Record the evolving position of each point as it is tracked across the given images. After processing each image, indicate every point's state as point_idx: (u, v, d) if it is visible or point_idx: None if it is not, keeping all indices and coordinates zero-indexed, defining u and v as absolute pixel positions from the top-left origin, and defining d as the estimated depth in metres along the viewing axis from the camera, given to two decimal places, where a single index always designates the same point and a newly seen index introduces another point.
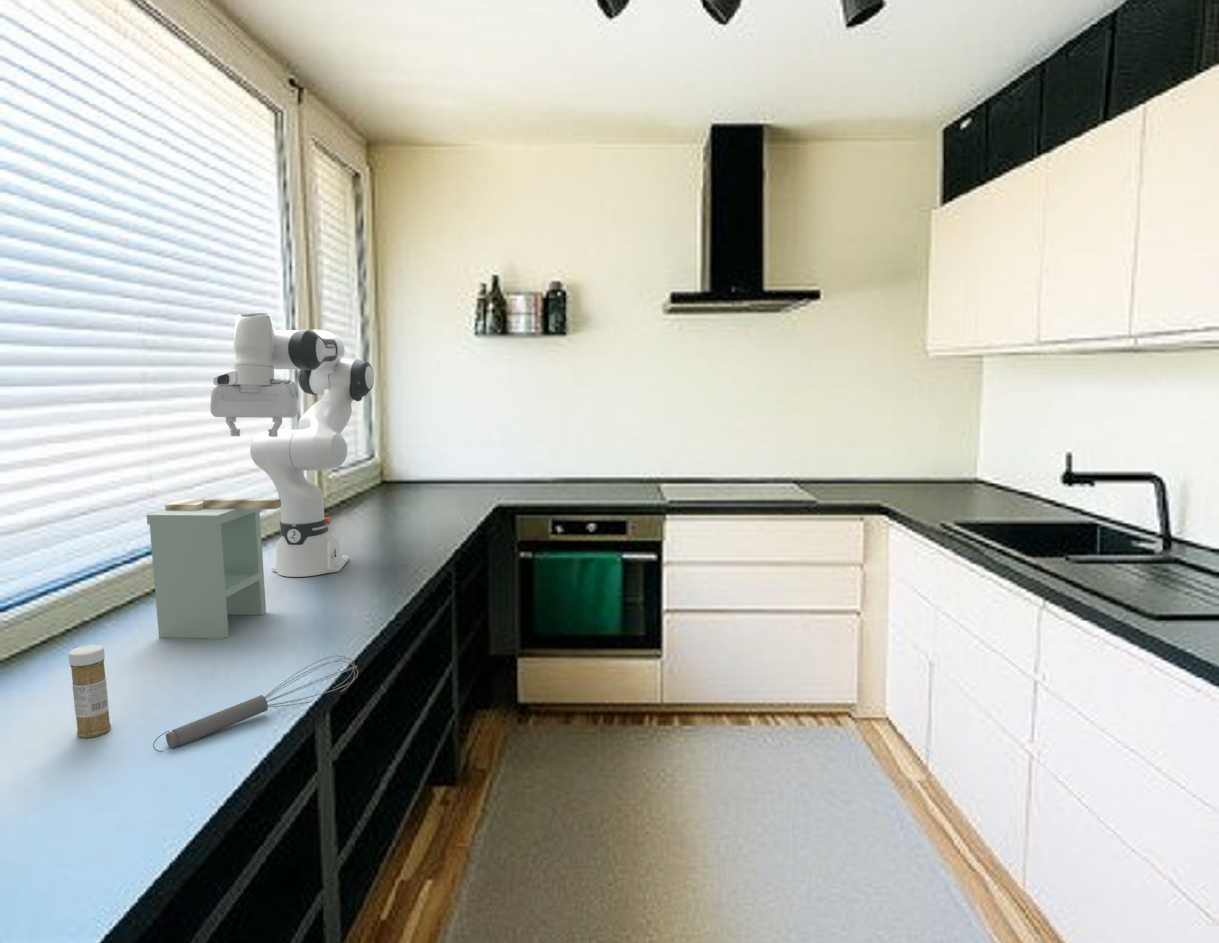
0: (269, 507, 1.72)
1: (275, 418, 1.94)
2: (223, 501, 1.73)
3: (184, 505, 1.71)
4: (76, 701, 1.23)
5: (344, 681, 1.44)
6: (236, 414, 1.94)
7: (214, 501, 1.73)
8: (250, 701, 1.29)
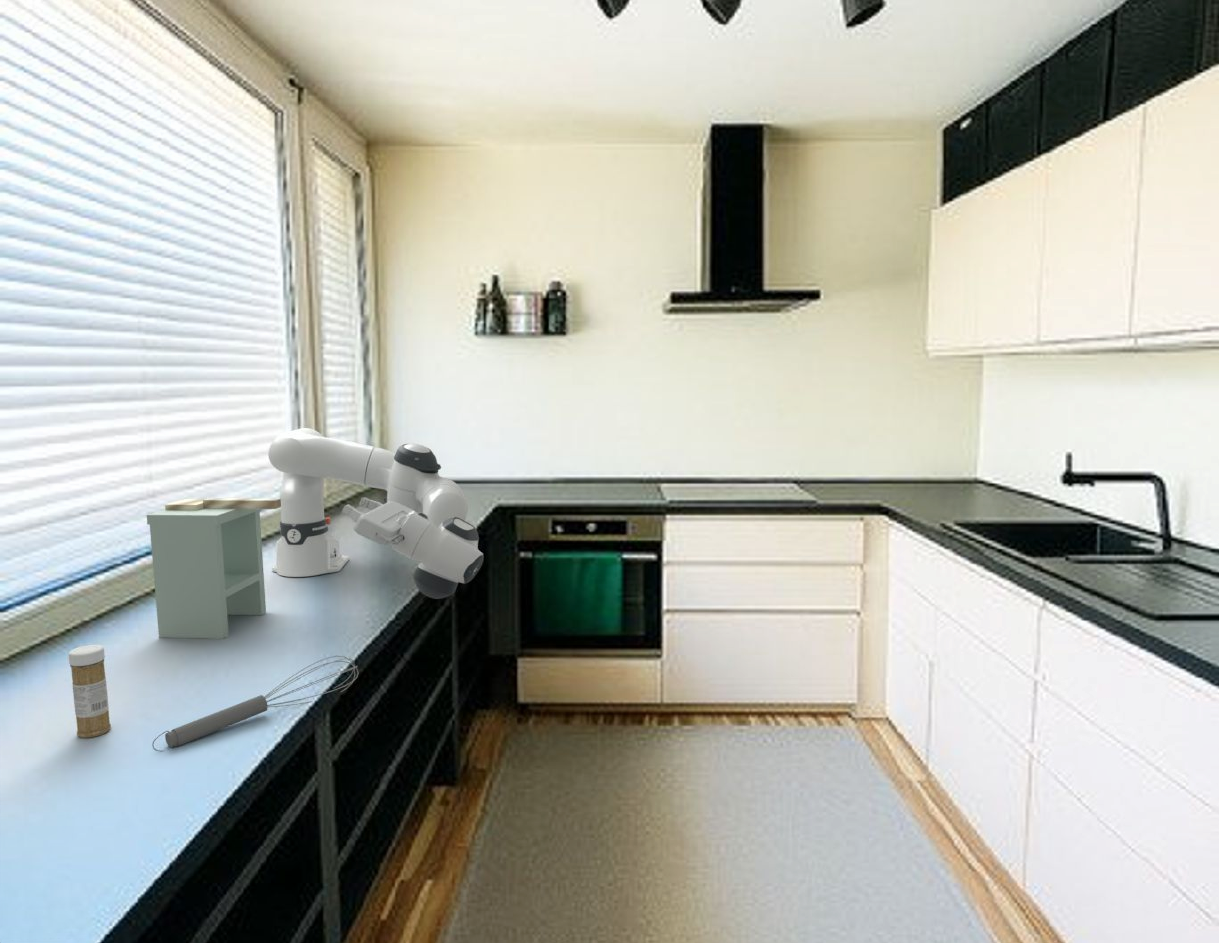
0: (269, 507, 1.72)
1: (363, 514, 1.67)
2: (223, 501, 1.73)
3: (184, 505, 1.71)
4: (76, 701, 1.23)
5: (344, 681, 1.44)
6: (383, 505, 1.76)
7: (214, 501, 1.73)
8: (250, 701, 1.29)
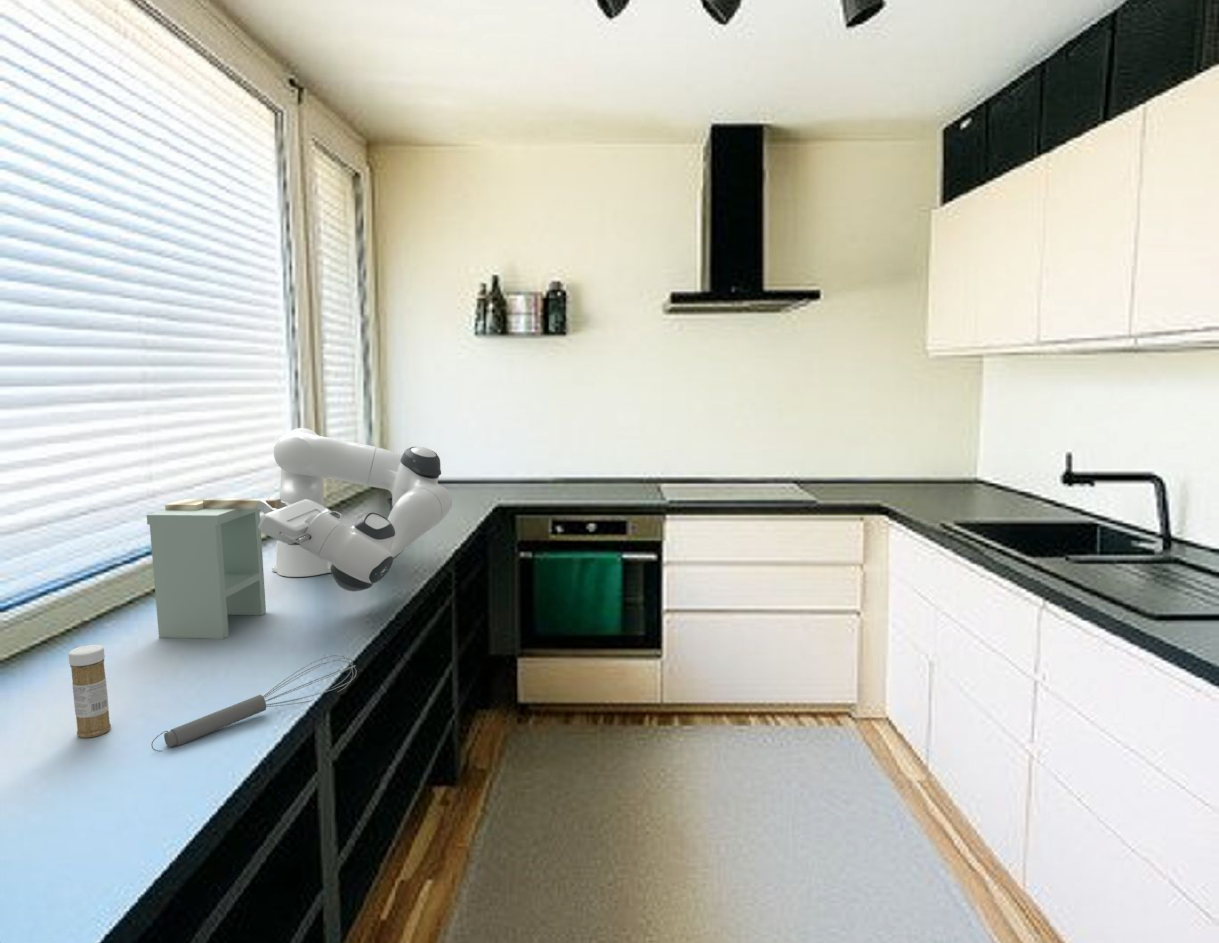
0: None
1: (276, 510, 1.70)
2: (223, 501, 1.73)
3: (184, 505, 1.71)
4: (76, 701, 1.23)
5: (342, 681, 1.44)
6: (295, 504, 1.76)
7: (214, 501, 1.73)
8: (248, 701, 1.29)
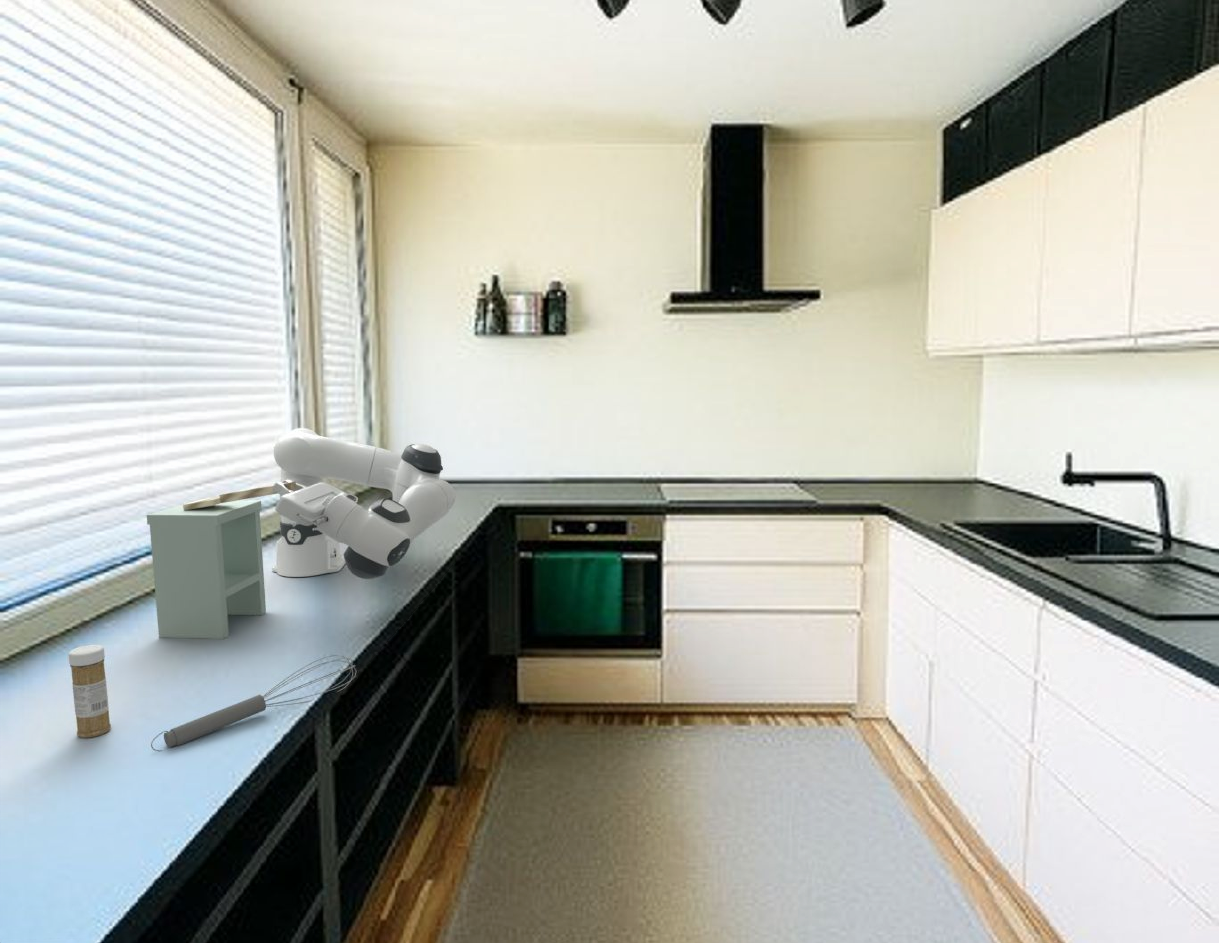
0: None
1: (292, 492, 1.69)
2: (239, 492, 1.72)
3: (201, 502, 1.70)
4: (76, 701, 1.23)
5: None
6: (311, 486, 1.75)
7: (230, 494, 1.72)
8: (248, 701, 1.29)
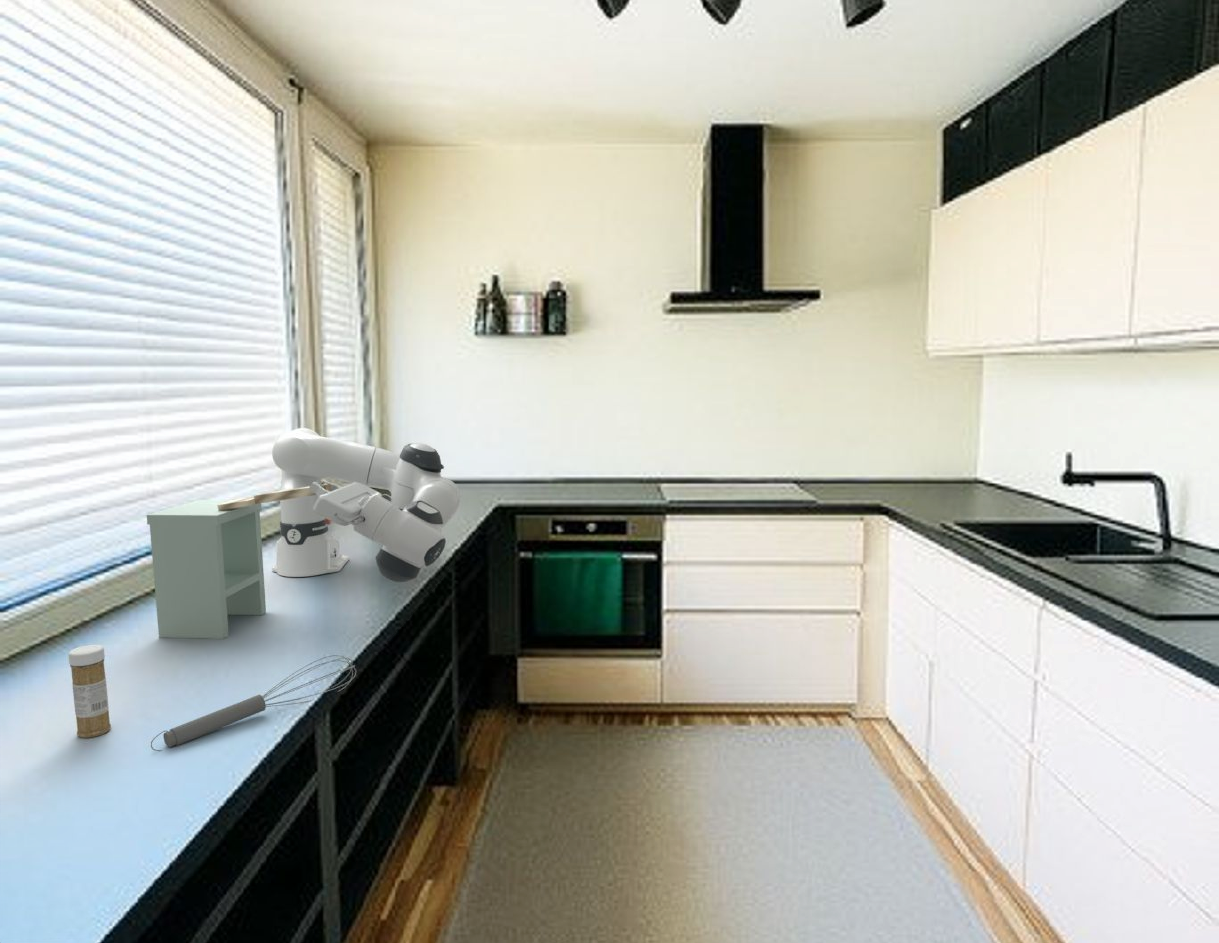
0: None
1: (329, 492, 1.69)
2: (274, 493, 1.71)
3: (236, 503, 1.70)
4: (76, 701, 1.23)
5: None
6: (346, 486, 1.75)
7: (265, 495, 1.72)
8: (248, 700, 1.29)
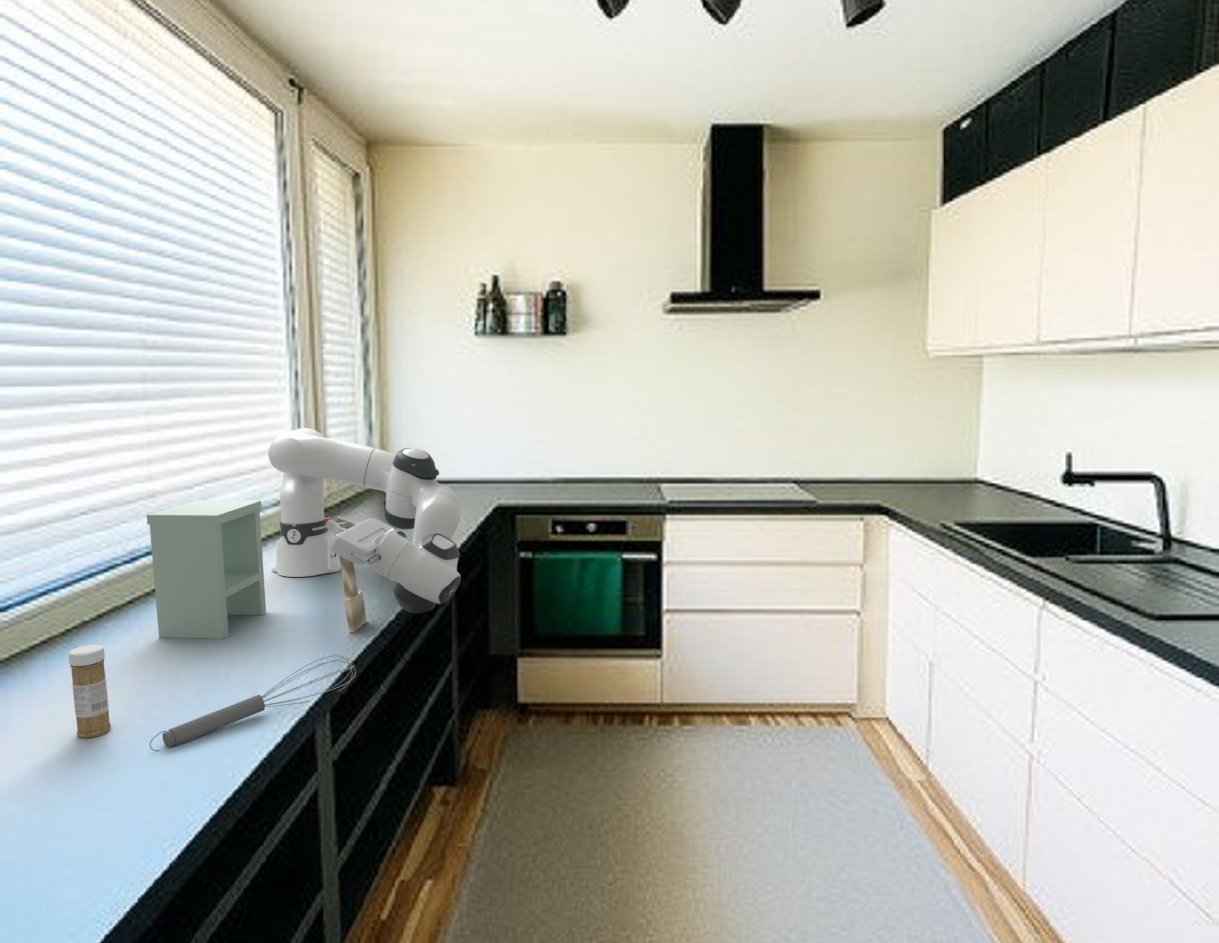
0: None
1: (345, 530, 1.69)
2: (343, 576, 1.73)
3: (347, 613, 1.71)
4: (76, 701, 1.23)
5: None
6: (362, 523, 1.76)
7: (345, 585, 1.73)
8: (247, 701, 1.29)
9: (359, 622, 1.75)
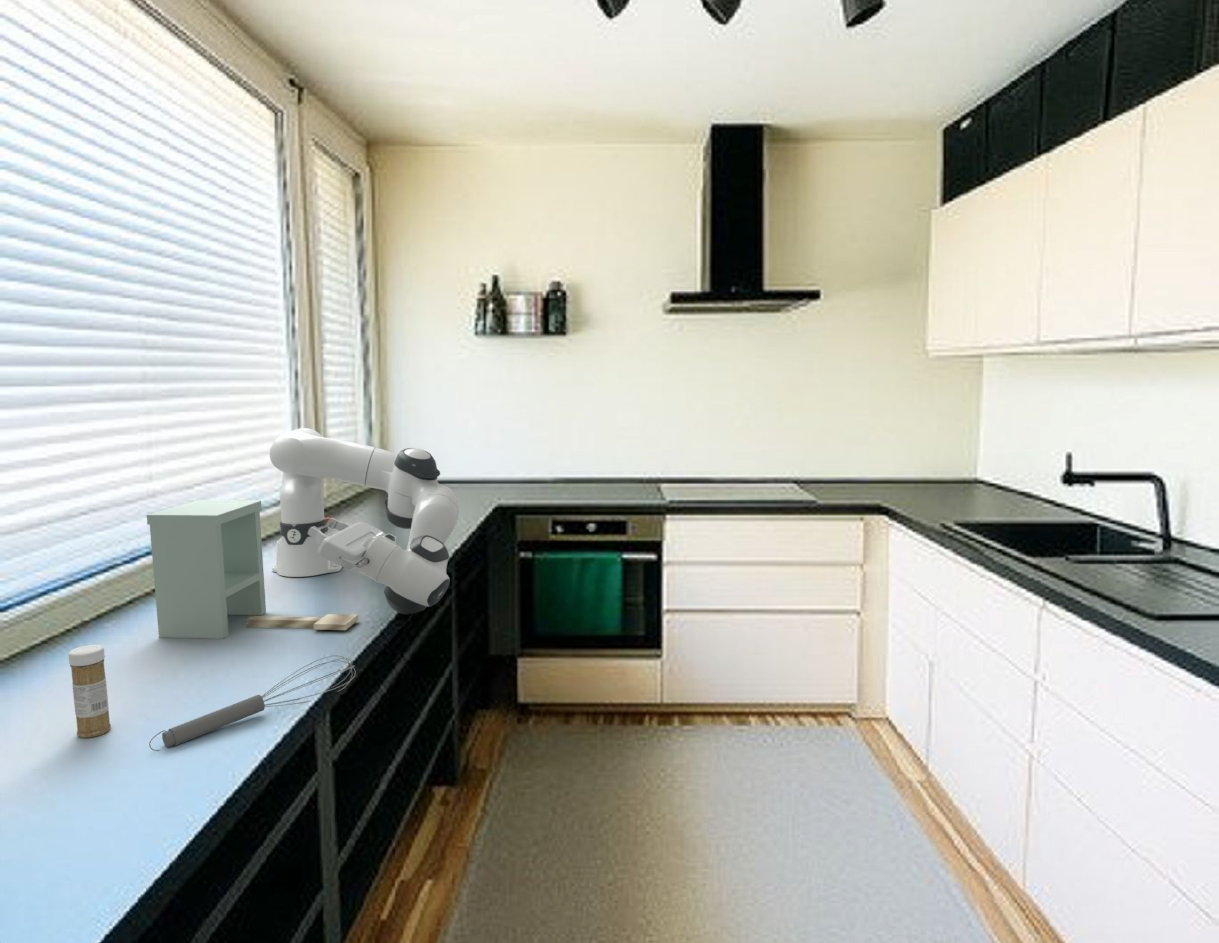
0: (252, 620, 1.76)
1: (328, 536, 1.67)
2: (297, 627, 1.75)
3: (326, 628, 1.72)
4: (76, 701, 1.23)
5: None
6: (351, 527, 1.76)
7: (306, 627, 1.75)
8: (247, 701, 1.29)
9: (346, 619, 1.75)
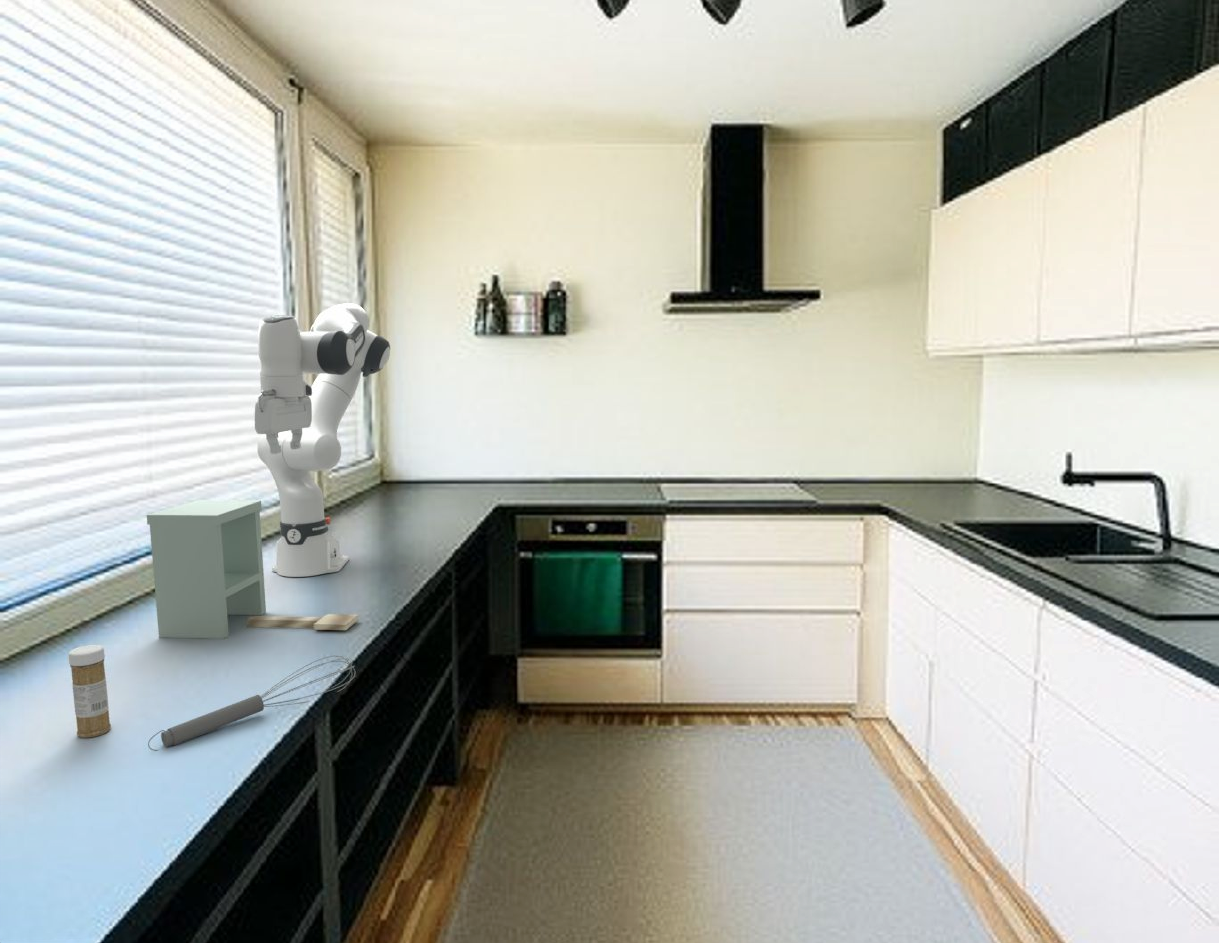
0: (252, 620, 1.76)
1: None
2: (298, 627, 1.75)
3: (326, 628, 1.72)
4: (76, 701, 1.23)
5: None
6: None
7: (307, 627, 1.75)
8: (246, 701, 1.29)
9: (346, 619, 1.75)
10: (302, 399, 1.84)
